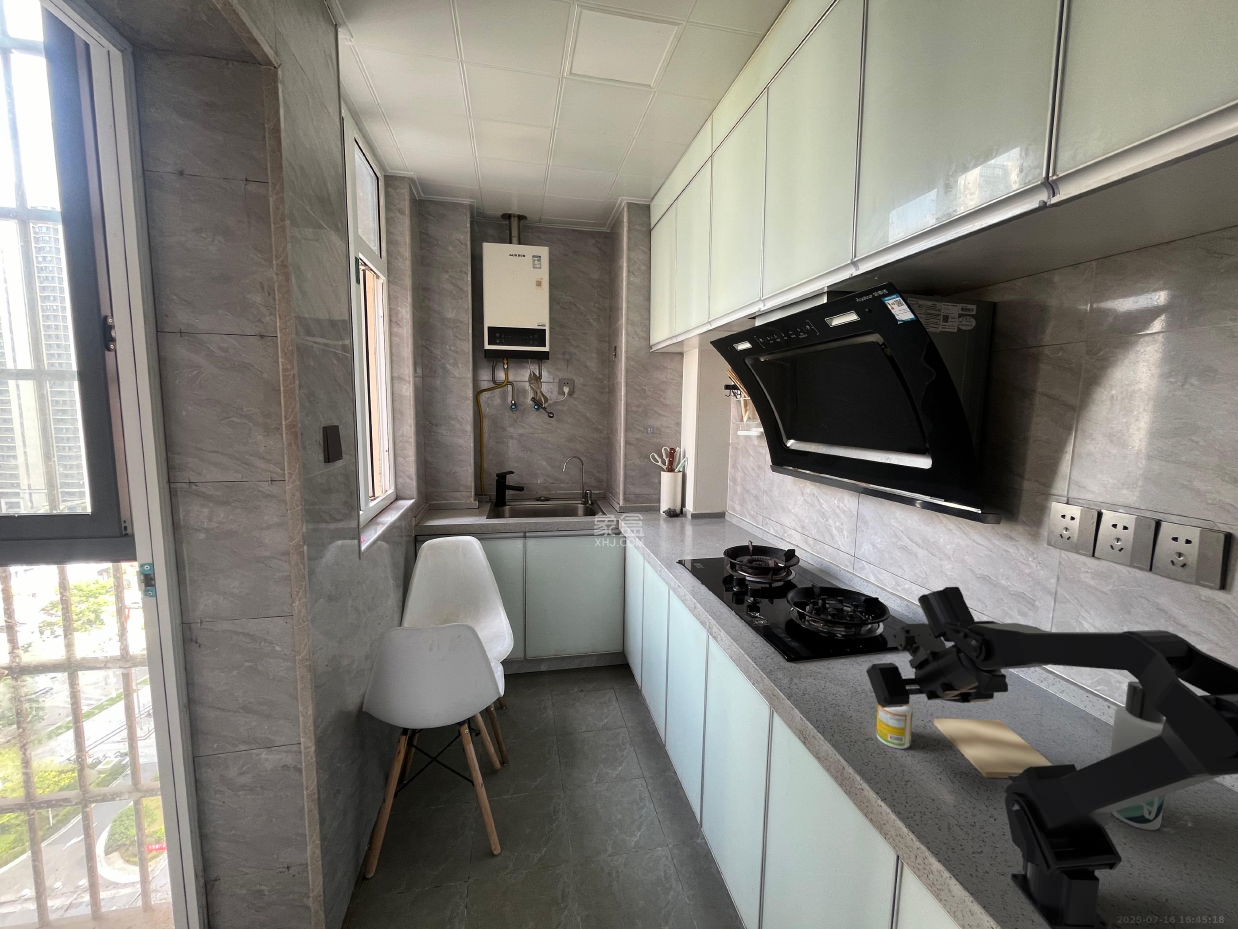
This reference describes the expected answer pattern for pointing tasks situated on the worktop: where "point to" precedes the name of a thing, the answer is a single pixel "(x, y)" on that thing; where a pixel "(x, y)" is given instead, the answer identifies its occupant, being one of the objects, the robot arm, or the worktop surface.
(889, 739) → the supplement bottle
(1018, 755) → the oak board
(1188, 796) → the worktop surface
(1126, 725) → the lotion bottle
